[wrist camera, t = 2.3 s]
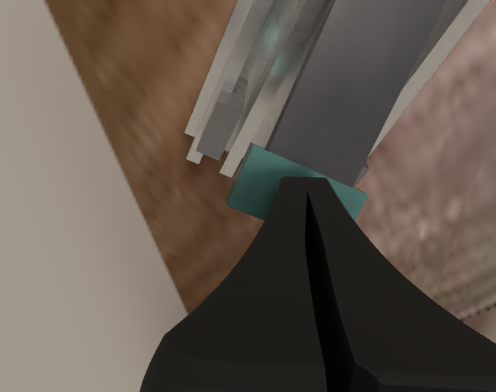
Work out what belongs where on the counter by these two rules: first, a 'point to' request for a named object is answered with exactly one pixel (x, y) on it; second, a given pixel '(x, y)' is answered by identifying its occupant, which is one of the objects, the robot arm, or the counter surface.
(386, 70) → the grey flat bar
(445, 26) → the heat sink
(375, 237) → the counter surface
